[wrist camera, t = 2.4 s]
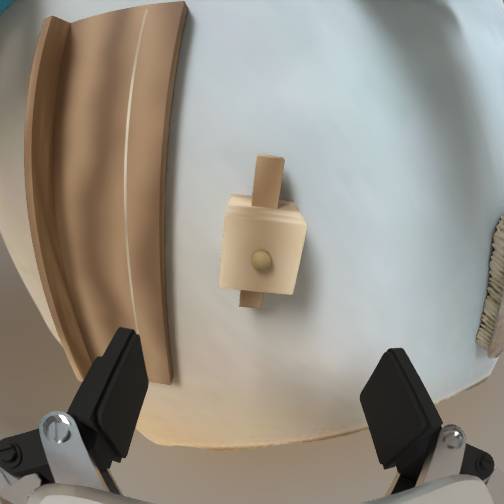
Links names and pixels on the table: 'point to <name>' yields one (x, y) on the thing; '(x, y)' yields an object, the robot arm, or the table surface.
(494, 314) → the beige mottled oblong part
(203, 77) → the table surface
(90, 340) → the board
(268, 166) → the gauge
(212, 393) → the table surface
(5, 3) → the block
